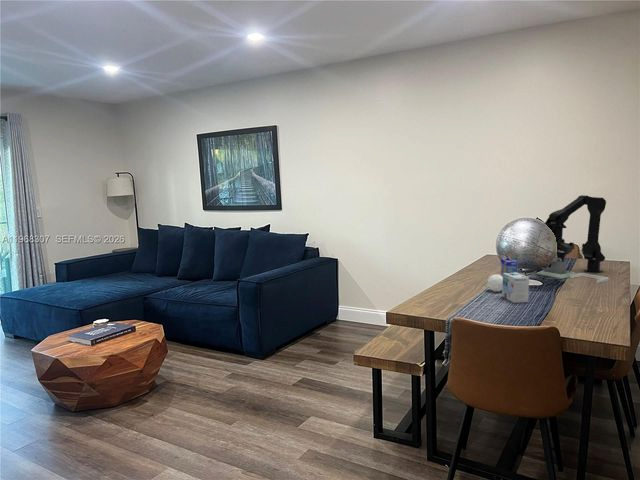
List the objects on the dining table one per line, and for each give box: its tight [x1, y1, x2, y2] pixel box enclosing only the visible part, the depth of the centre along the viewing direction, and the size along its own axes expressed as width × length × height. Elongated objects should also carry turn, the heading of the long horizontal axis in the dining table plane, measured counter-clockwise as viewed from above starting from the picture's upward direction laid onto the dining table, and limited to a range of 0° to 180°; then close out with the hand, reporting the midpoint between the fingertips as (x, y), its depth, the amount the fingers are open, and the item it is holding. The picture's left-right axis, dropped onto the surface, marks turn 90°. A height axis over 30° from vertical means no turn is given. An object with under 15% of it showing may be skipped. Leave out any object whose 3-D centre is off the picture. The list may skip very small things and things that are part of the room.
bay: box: [569, 272, 610, 284], centre depth 232 cm, size 10×14×2 cm
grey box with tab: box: [543, 257, 567, 275], centre depth 243 cm, size 5×9×9 cm, turn 28°
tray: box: [534, 270, 576, 280], centre depth 244 cm, size 11×15×2 cm
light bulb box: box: [501, 272, 530, 304], centre depth 199 cm, size 11×7×11 cm, turn 5°
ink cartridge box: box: [500, 254, 519, 277], centre depth 225 cm, size 10×6×14 cm, turn 174°
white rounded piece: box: [487, 274, 503, 293], centre depth 212 cm, size 8×8×12 cm
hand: (554, 266), depth 243 cm, fingers open, 8 cm apart
